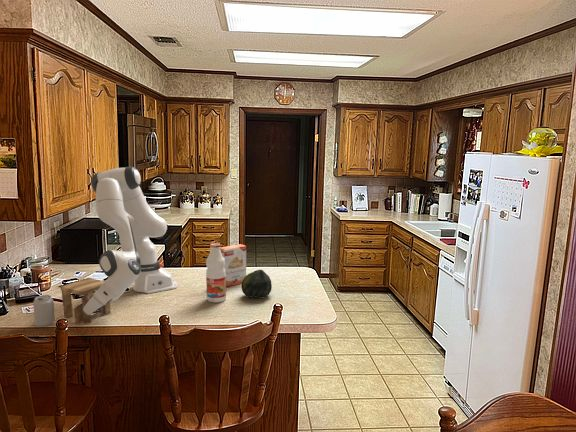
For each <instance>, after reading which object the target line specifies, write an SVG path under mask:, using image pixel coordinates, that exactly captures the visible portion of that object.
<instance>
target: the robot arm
mask: <svg viewBox="0 0 576 432" xmlns="http://www.w3.org/2000/svg"><path fill="white" fill-rule="evenodd" d="M141 183H142V177H141V173H140V171H139V170H138V169H137V168H136V167H135V166H126V167H116V168H111V169H108V170H104V171H99V172H96V173H94V174H93V175H92V177H91V179H90V185H91V188H92V191H93V192H95V208H96V215H97V218H98V219H100V220H101V222H103V223H105V224H106V225H107V226H110V227H111V228H112V229H114V230H115V231H116V232H117V234H118V237H119V241H120V242H119V243H120V246H121V250H112V249H108V250H105V251H104V252H103V253H102V254H100V255H101V256H100V258H99V260H98V264H99V267H100V269H101V270H102V272H103V274H104V275H105V276H107V278H106V280H104V281H105V282H104V283H103V284H102V285H101V286H100V288H99V289H98V290H96V291H93V297H92V298H91V299H90V300H89V301H88V302H87V304H86V305H85V306H84V308H83V311H84V312H85V313H86V314H87V315H90V314H92V315H93V314H94V312H96V311H97V310H98V309H99V308H100V307H102V306H103V305H105V304H107V303H109V302H110V303H112V302H115V301H118V299H119V298H120V297H121V296H122V295H123V294H124V293H125V291H126V290H127V289H128V288H130V287H131V286H132V285H133V288H132V290H133V291H135V292H137V293H144V294H153V293H158V292H165V291H169V290H170V291H171V290H174V289H177V288H178V285H179V284H178V282H177V280H175V279H174V278H173V275H172V273H170V271H168V270H166V269H165V268H163V267H164V265H163V263H162V262H161V261H160V260H158V255H157V252H158V251H157V246H156V245H155V244H154V243H153V242H152V240H150V238H161V237H163V236H164V235H165V234H166V233H167V230H168V224H167V221H166V219H164V218H163V217H161V216H159V215H158V214H157V213H156V212H155V211H154V210H153V209H152V207H151V206H150V205H149V203H148V202H147V200H146V197H145V195H144V193H143V191H142V189H141V187H140V185H141Z"/></svg>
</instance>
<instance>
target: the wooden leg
mask: <svg viewBox="0 0 576 432" xmlns="http://www.w3.org/2000/svg"><path fill="white" fill-rule="evenodd" d="M80 296H81V305H82V311H83V308H84V306H85V305H86V304H87V302H88V301H89V295H80ZM97 310H98V311H97V312H95V313H92V315H91V314H90V315H87V314H86V313H85V312H84V311H83V321H82V322H83V324H85V325H88V324H90V323H92V320H94V319H96V318H98V317H102V316H104V314H103V307H100V308H99V309H97Z"/></svg>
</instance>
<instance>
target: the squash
mask: <svg viewBox="0 0 576 432" xmlns="http://www.w3.org/2000/svg"><path fill="white" fill-rule="evenodd" d="M272 287H273V285H272V279H271V277H270V276H269V275H268V274H267V273H266V272H265V271H264V270H263V269H257V270H254V271H252V272H250V273H248V274H246V276H245V277H244V279H243V281H242V283H241V291H242V293H243V294H244V296H245V297H247V298H252V299H253V298H254V299H255V298H259V299H265V298H266V297H268V296H269V295H270V293H271V292H272Z"/></svg>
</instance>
